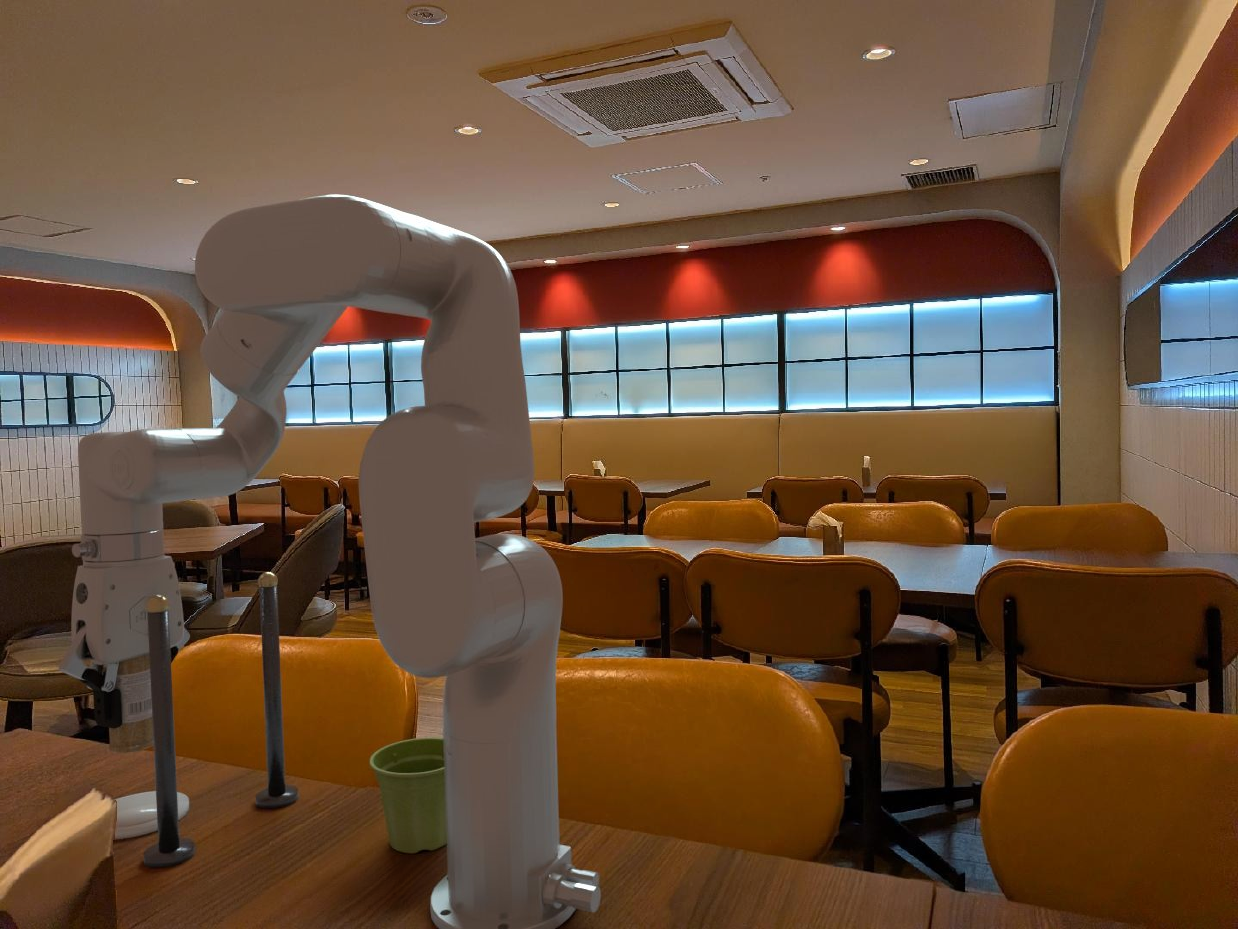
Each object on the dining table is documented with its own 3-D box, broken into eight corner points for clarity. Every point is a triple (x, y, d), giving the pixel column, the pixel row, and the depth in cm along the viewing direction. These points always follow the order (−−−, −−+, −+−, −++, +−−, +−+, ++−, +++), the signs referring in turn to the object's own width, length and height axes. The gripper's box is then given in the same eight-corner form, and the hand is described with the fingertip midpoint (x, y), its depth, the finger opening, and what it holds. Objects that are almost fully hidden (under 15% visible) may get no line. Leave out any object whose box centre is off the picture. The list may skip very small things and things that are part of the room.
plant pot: (487, 827, 88) (485, 744, 88) (430, 871, 80) (427, 779, 79) (413, 812, 92) (411, 732, 92) (352, 853, 84) (348, 765, 83)
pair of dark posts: (306, 795, 97) (297, 569, 96) (165, 871, 81) (152, 600, 80) (277, 789, 99) (268, 568, 98) (133, 863, 83) (120, 598, 81)
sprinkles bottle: (152, 736, 95) (146, 616, 95) (161, 747, 92) (155, 623, 91) (104, 747, 93) (98, 623, 92) (112, 759, 89) (105, 630, 88)
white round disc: (209, 805, 95) (209, 797, 95) (125, 847, 86) (125, 837, 86) (147, 792, 99) (146, 784, 99) (60, 830, 90) (60, 821, 90)
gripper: (68, 562, 82) (77, 751, 83) (216, 539, 97) (222, 699, 98) (18, 558, 85) (28, 740, 86) (169, 537, 101) (176, 692, 101)
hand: (131, 716), depth 92 cm, fingers closed on sprinkles bottle, 4 cm apart
